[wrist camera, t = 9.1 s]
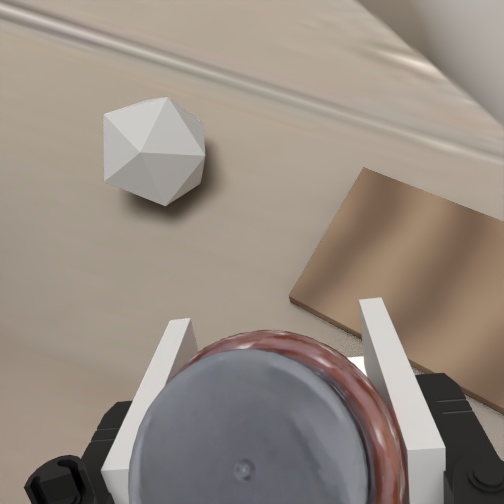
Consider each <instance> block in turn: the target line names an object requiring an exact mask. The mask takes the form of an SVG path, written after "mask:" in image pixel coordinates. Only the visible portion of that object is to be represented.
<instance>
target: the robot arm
mask: <svg viewBox="0 0 504 504" xmlns="http://www.w3.org/2000/svg"><path fill="white" fill-rule="evenodd" d="M359 309H360V321H361V333H362V345H363V357H364V367H365V370H366V374H367V377H368V378H369V379H370V381H371V382H372V384H373V385H374V387H375V388H376V389H377V391H378V392H379V394H380V395H381V397H382V398H383V400H384V402H385V404H386V406H387V407H388V409H389V412H390V414H391V416H392V419H393V421H394V423H395V426H396V429H397V432H398V435H399V438H400V442H401V446H402V451H403V458H404V466H405V479H406V487H405V501H404V504H504V461H502V460H501V459H500V458H499V456H498V455H497V453H496V451H495V449H494V448H493V446H492V444H491V442H490V440H489V439H488V437H487V435H486V433H485V431H484V430H483V428H482V426H481V424H480V422H479V421H478V419H477V417H476V415H475V413H474V412H473V411H472V408H471V406H470V404H469V403H468V401H466V397H465V395H464V394H463V392H462V390H461V388H460V386H459V385H458V383H456V382H455V381H454V380H453V379H451V378H450V377H449V376H447V375H446V374H445V373H433V374H421V375H414V373H413V371H412V368H411V366H410V363H409V361H408V359H407V356H406V354H405V352H404V349H403V347H402V345H401V342H400V340H399V338H398V335H397V333H396V331H395V328H394V326H393V324H392V321H391V319H390V317H389V314H388V312H387V310H386V307H385V305H384V303H383V300H382V298H381V297H380V298H371V299H361V300H359ZM198 352H199V351H198V347H197V343H196V339H195V335H194V331H193V326H192V322H191V318H187V319H178V320H170V322H169V324H168V326H167V328H166V331H165V333H164V335H163V337H162V339H161V341H160V344H159V346H158V348H157V350H156V352H155V354H154V356H153V359H152V361H151V363H150V365H149V367H148V369H147V372H146V374H145V376H144V378H143V380H142V382H141V385H140V387H139V389H138V391H137V393H136V395H135V398H134V400H133V401H124V402H117V403H116V404H115V405H114V406H113V407H112V408H111V409H110V410H109V411H108V412H106V413H105V414H104V416H103V418H102V420H101V422H100V424H99V426H98V428H97V431H95V433H94V435H93V437H92V439H91V443H89V445H88V447H87V448H86V450H85V452H84V454H83V456H82V458H81V459H80V458H79V457H78V456H73V455H66V456H60V457H57V458H55V459H52V460H50V461H48V462H46V463H45V464H43V465H42V466H41V467H39V468H38V469H37V470H36V471H35V472H34V473H33V474H32V475H31V476H30V477H29V479H28V480H27V482H26V484H25V486H24V489H25V491H26V493H27V495H28V497H29V499H30V501H31V503H32V504H129V494H128V472H129V462H130V458H131V455H132V449H133V445H134V442H135V438H136V435H137V432H138V428H139V426H140V424H141V422H142V419H143V417H144V415H145V413H146V411H147V409H148V408H149V406H150V405H151V403H152V402H153V401H154V399H155V398H156V397H157V395H158V394H159V393H160V391H161V390H162V389H163V388H164V387H165V386H166V384H167V383H168V382H169V380H170V379H171V378H172V377H173V376H174V375H175V374H176V373H177V372H178V370H179V369H180V368H181V367H182V366H183V365H185V364H186V362H187V361H188V360H189V359H190V358H191V357H192V356H194V355H196V354H197V353H198Z"/></svg>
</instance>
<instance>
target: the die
mask: <svg viewBox="0 0 504 504" xmlns="http://www.w3.org/2000/svg"><path fill="white" fill-rule="evenodd" d="M204 161H205V143H204V129H203V123H202V122H201V121H199V120H198V119H197V118H195V117H194V116H193V115H191V114H190V113H189V112H187V111H186V110H185V109H183V108H182V107H181V106H180V105H178V104H177V103H176V102H174V101H173V100H172V99H170V98H169V97H163V98H156V99H149V100H145V101H142V102H139V103H136V104H133V105H130V106H127V107H124V108H121V109H118V110H114V111H111V112H108V113H105V114H104V182H106V183H108V184H111V185H113V186H116V187H118V188H121V189H123V190H126V191H128V192H131V193H133V194H136V195H138V196H141V197H143V198H146V199H148V200H151V201H153V202H156V203H159V204H161V205H164V206H167V205H168V204H170V203H171V202H173V201H174V200H176V199H177V198H179V197H181V196H182V195H184V194H185V193H187V192H188V191H190V190H191V189H193V188H194V187H196V186H198V185H199V184H201V179H202V173H203V167H204Z"/></svg>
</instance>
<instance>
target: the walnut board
mask: <svg viewBox="0 0 504 504" xmlns="http://www.w3.org/2000/svg"><path fill="white" fill-rule="evenodd" d="M380 297H381V298H382V300H383V303H384V305H385V307H386V310H387V312H388V314H389V317H390V319H391V321H392V324H393V326H394V328H395V331H396V333H397V335H398V338H399V340H400V342H401V345H402V347H403V349H404V352H405V354H406V356H407V359H408V361H409V363H410V365H411V366H413V367H415V368H417V369H418V370H420V371H422V372H424V373H426V374H433V373H445V374H446V375H447V376H449V377H450V378H451V379H453V380H454V381H455V382H456V383H458V385H459V386H460V388H461V390H462V392H463V393H464V394H466V395H468V396H470V397H471V398H473V399H475V400H477V401H479V402H481V403H483V404H485V405H487V406H489V407H490V408H492V409H494V410H496V411H498V412H500V413H502V414H504V222H503V221H500V220H498V219H495V218H493V217H490V216H487V215H485V214H482V213H480V212H477V211H475V210H472V209H469V208H467V207H464V206H462V205H459V204H457V203H454V202H451V201H449V200H446V199H444V198H441V197H439V196H436V195H433V194H431V193H428V192H426V191H423V190H421V189H418V188H415V187H413V186H410V185H408V184H405V183H403V182H400V181H397V180H395V179H392V178H390V177H387V176H385V175H382V174H379V173H377V172H374V171H372V170H369V169H367V168H364V167H363V169H362V171H361V172H360V174H359V176H358V178H357V179H356V181H355V183H354V184H353V186H352V188H351V190H350V191H349V193H348V195H347V197H346V198H345V200H344V202H343V203H342V205H341V207H340V209H339V210H338V212H337V214H336V215H335V217H334V219H333V221H332V222H331V224H330V226H329V228H328V229H327V231H326V233H325V234H324V236H323V238H322V240H321V241H320V243H319V245H318V246H317V248H316V250H315V252H314V253H313V255H312V257H311V259H310V260H309V262H308V264H307V265H306V267H305V269H304V271H303V272H302V274H301V276H300V277H299V279H298V281H297V283H296V284H295V286H294V288H293V290H292V291H291V293H290V295H289V299H290V302H292V303H293V304H295V305H297V306H299V307H301V308H303V309H305V310H307V311H309V312H311V313H312V314H314V315H316V316H318V317H320V318H322V319H324V320H326V321H328V322H329V323H331V324H333V325H335V326H337V327H339V328H341V329H343V330H345V331H346V332H348V333H350V334H352V335H354V336H356V337H358V338H360V339H362V333H361V321H360V309H359V300H361V299H371V298H380Z"/></svg>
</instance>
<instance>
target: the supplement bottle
mask: <svg viewBox="0 0 504 504" xmlns="http://www.w3.org/2000/svg"><path fill="white" fill-rule="evenodd" d="M405 487H406V479H405V466H404V458H403V451H402V446H401V442H400V438H399V435H398V432H397V429H396V426H395V423H394V421H393V419H392V416H391V414H390V412H389V409H388V407H387V406H386V404H385V402H384V400H383V398H382V397H381V395H380V394H379V392H378V391H377V389H376V388H375V387H374V385H373V384H372V382H371V381H370V379H369V378H368V377H367V376H366V375H365V374H364V373H363V372H362V371H361V370H360V369H359V368H358V367H357V366H356V365H355V364H354V363H352V362H351V361H350V360H349V359H348V358H347V357H345V356H344V355H342V354H341V353H340V352H338V351H337V350H335V349H333V348H331V347H330V346H328V345H326V344H323V343H321V342H319V341H317V340H315V339H313V338H310V337H307V336H303V335H300V334H296V333H292V332H287V331H280V330H260V331H253V332H245V333H240V334H236V335H233V336H229V337H227V338H223V339H221V340H220V341H218V342H215V343H213V344H211V345H209V346H207V347H205V348H204V349H203V350H201V351H200V352H198V353H197V354H196V355H194V356H192V357H191V358H190V359H189V360H188V361H187V362H186V364H185V365H183V366H182V367H181V368H180V369H179V370H178V372H177V373H176V374H175V375H174V376H173V377H172V378H171V379H170V380H169V382H168V383H167V384H166V386H165V387H164V388H163V389H162V390H161V391H160V393H159V394H158V395H157V397H156V398H155V399H154V401H153V402H152V403H151V405H150V406H149V408H148V409H147V411H146V413H145V415H144V417H143V419H142V422H141V424H140V426H139V428H138V432H137V435H136V438H135V442H134V445H133V449H132V455H131V458H130V462H129V472H128V494H129V504H404V501H405Z"/></svg>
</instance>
